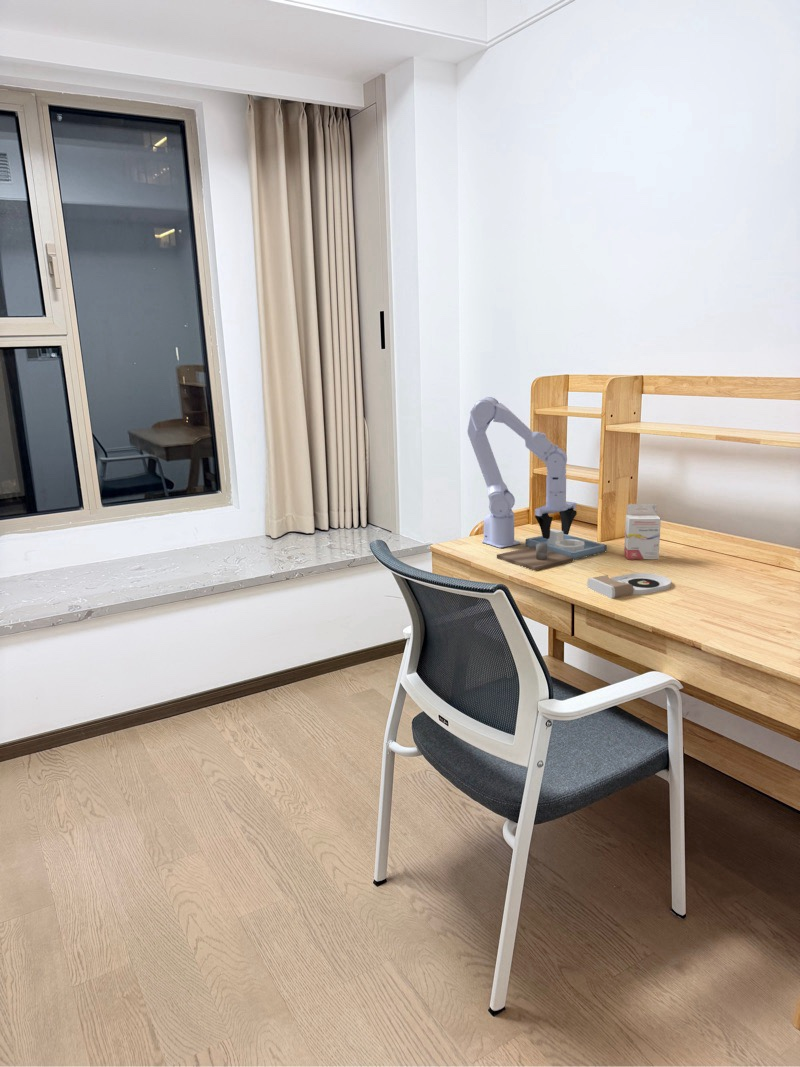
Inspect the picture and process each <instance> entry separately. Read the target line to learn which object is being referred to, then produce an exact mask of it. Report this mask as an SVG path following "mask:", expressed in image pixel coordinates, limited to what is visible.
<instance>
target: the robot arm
mask: <svg viewBox="0 0 800 1067" xmlns="http://www.w3.org/2000/svg"><path fill="white" fill-rule="evenodd" d="M469 414H470V415H469V421H468V426H467V435H468V438H469V441H470V444H471V446H472V449H473V452H474V455H475V457H476V460H477V463H478V465H479V468H480V470H481V473H482V476H483V479H484V481H485V484H486V488H487V497H488V499H489V505H488V508H489V511H490V512H489V513H488V514H486V515H485V517H484V518H483V519H484V520H483V539H482V540H481V542H482V543H484V544H487V545H490V546H493V547H497V548H499V549H502V548H503V549H504V548H507V547H511V546H517V545H521V543H522V542H521V541H518V540H515V513H514V511H513V508H514V505H515V502H516V500H515V496H514V495H513V493H511V492H510V491H509V489H508V486H507V484H506V483H505V482H504V480H503V478H502V475H501V471H500V469H499V466H498V464H497V460H496V458H495V454H494V453H493V449H492V446H491V444H490V442H489V438H488V436H487V433H486V432H487V429H488V428H489V427H490V424H491V422H494V423H499V424H504V425H506V426H507V427H508V428H509V429H510V430H512V431H513V432H514V433H515V434H517V435H518V436H519V437H521V439H523V440H524V442H525V448H527V449H528V451H530V452H531V453H532V454H533V455H535V456H536V457H537V458H538V459H539V460H540V461H542V462H543V461H544V465H545V468H546V477H545V478H546V480H545V482H546V483H545V484H546V487H545V489H546V490H545V493H546V494H545V505H543V506H540V507H538V508H535V509H534V518H535V519H536V522H537V523H538V525H539V528H540V531H541V536H543V538H546V539H549V537H550V530H551V525H552V522H553V519H554V517H552V516H550V515H549V514H554V513H559V516H560V522H561V523H560V524H561V526H560V527H561V528H560V529H561V531H563V534H566V535H570V534H569V533H570V530H571V526H572V523H573V521H574V519H575V518H576V516H577V515H578V512H577V502H575V501H568V502H567V469H566V468H567V467H566V465H567V463H568V456H567V453H566V452H565V451H564V449H562V448H560V446H559V445H558V444H554V443H553V442H552V441H551V440H549V438H547V434H546V433H545V432H540V431H532V430H531V429H530V427H528V426H527V425H526V424H525V423H524V422H523V421H522V420H521V419H520V418H519V417H517V415H516V414H514V412H512V411H511V410H510V409H509V408H508V407H507V406H505V405H504V404H503V403H501V402H499V401H498V400H497V398H495V397H492V396H487V397H485V398H482V399H479V400H478V401H476V403H475V404H474V405H473V407H472V408H471V410H470V412H469Z"/></svg>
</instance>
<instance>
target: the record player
mask: <svg viewBox="0 0 800 1067" xmlns="http://www.w3.org/2000/svg"><path fill="white" fill-rule="evenodd" d="M586 584H587V585H586V586H587V589H588V588H590V589H592V590H594V591H593V592H595V591H596V592H595V593H597V592H598V593H597V594H599V593H600V595H602V594H603V595H602V596H604V595H605V596H604V597H606V596H607V598H609V599H611V600H613V599H617V598H621V597H625V596H631V595H647V594H652V593H656V592H661V591H665V590H668V589H670V588H671V586H672V580H671V579H670V578H669V577H667V576H664V575H662V574H656V573H650V572H649V573H647V572H633V573H627V574H622V575H617V576H612V577H609V575H608V574H604V575H599V576H593V577H588V579H587V582H586ZM590 589H589V590H590ZM592 590H591V591H592ZM612 598H613V599H612Z"/></svg>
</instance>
